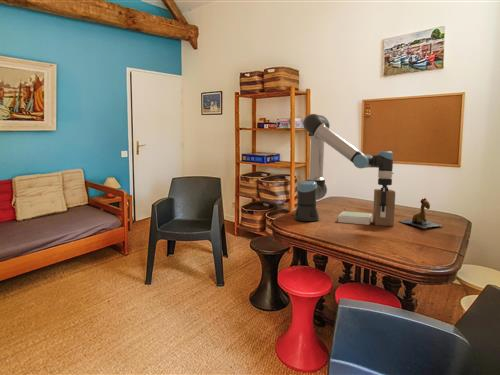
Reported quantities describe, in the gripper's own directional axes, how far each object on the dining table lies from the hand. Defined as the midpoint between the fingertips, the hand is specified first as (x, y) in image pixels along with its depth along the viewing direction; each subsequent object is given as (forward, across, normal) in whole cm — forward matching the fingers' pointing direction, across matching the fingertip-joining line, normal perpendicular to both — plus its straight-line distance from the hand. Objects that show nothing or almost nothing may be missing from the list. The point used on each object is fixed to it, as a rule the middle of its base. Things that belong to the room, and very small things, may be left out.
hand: (383, 215), depth 198 cm
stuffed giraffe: (+6, +11, -20) cm, 23 cm away
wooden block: (+5, 0, 0) cm, 5 cm away
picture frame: (+5, +3, +16) cm, 17 cm away
